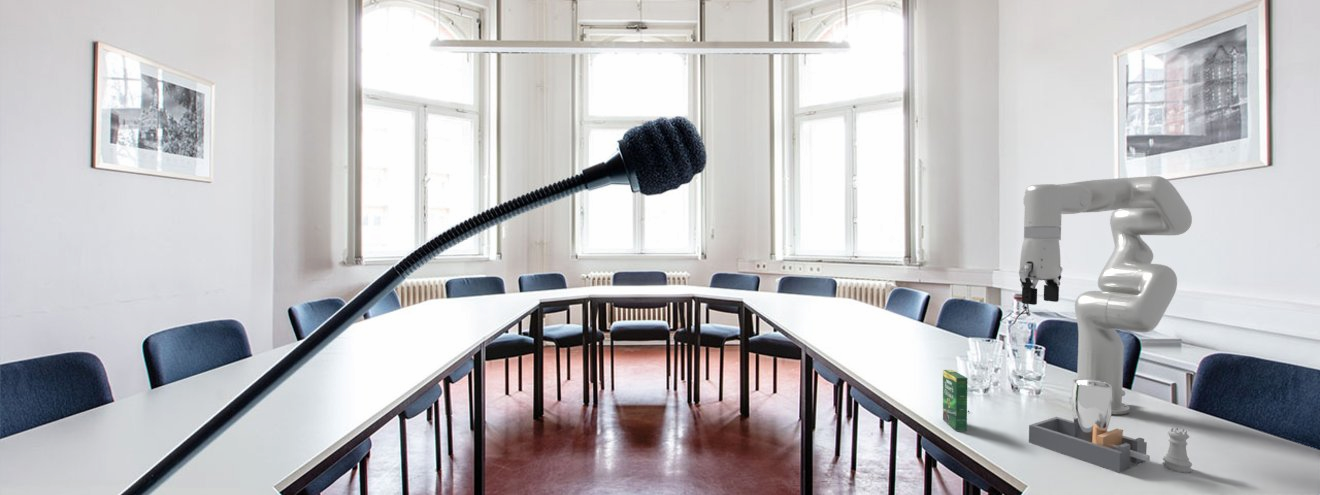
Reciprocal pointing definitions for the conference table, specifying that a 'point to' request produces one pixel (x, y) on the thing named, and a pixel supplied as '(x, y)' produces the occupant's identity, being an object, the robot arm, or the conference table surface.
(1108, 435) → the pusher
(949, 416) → the coffee box
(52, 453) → the conference table surface
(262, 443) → the conference table surface
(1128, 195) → the robot arm
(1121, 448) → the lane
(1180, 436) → the rook chess piece
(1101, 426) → the beer glass
